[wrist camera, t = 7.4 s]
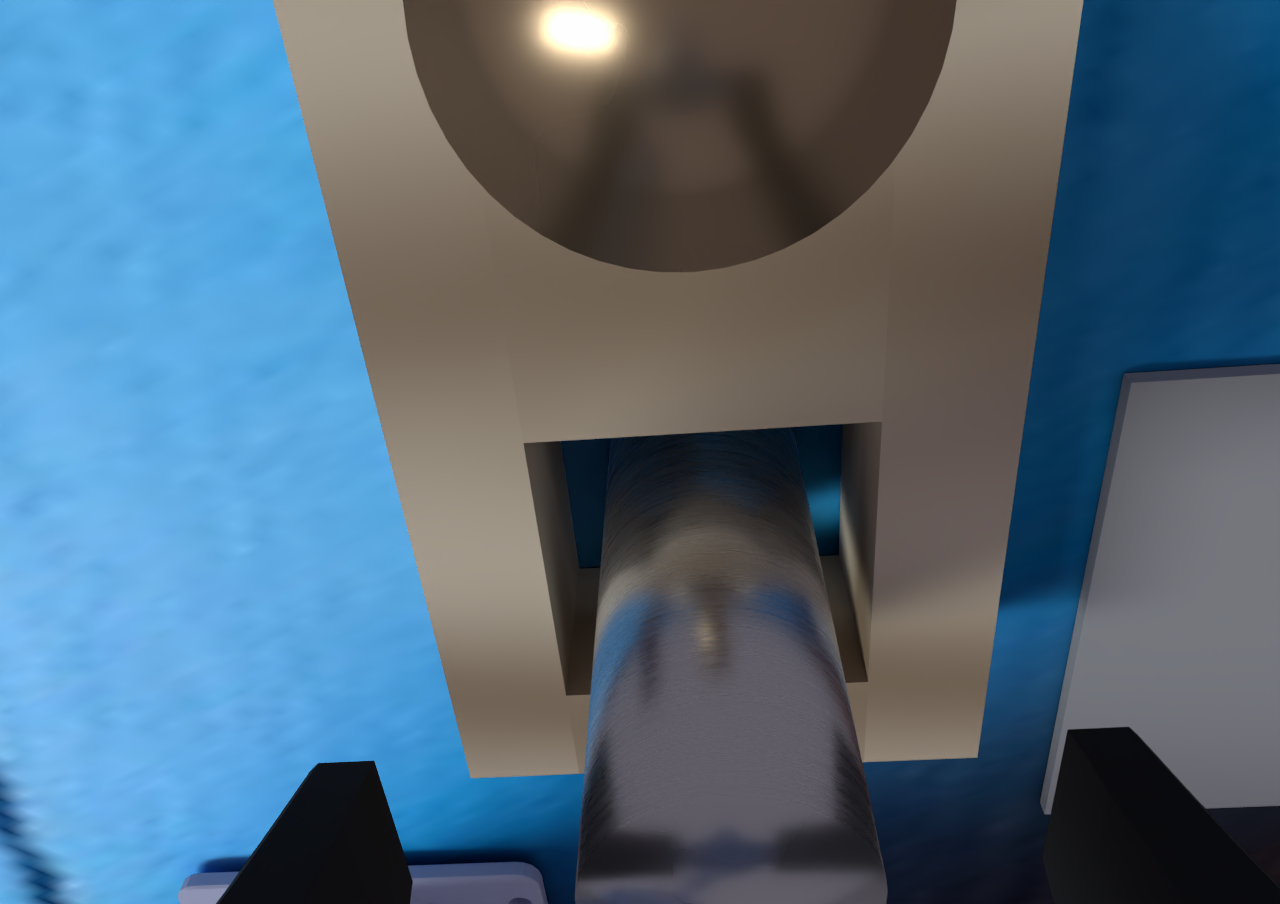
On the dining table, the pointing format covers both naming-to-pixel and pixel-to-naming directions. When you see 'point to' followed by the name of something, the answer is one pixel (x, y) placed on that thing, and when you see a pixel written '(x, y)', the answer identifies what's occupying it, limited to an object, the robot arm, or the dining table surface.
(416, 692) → the dining table surface
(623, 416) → the hole block
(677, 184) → the bronze peg
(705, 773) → the grey peg
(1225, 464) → the mat
